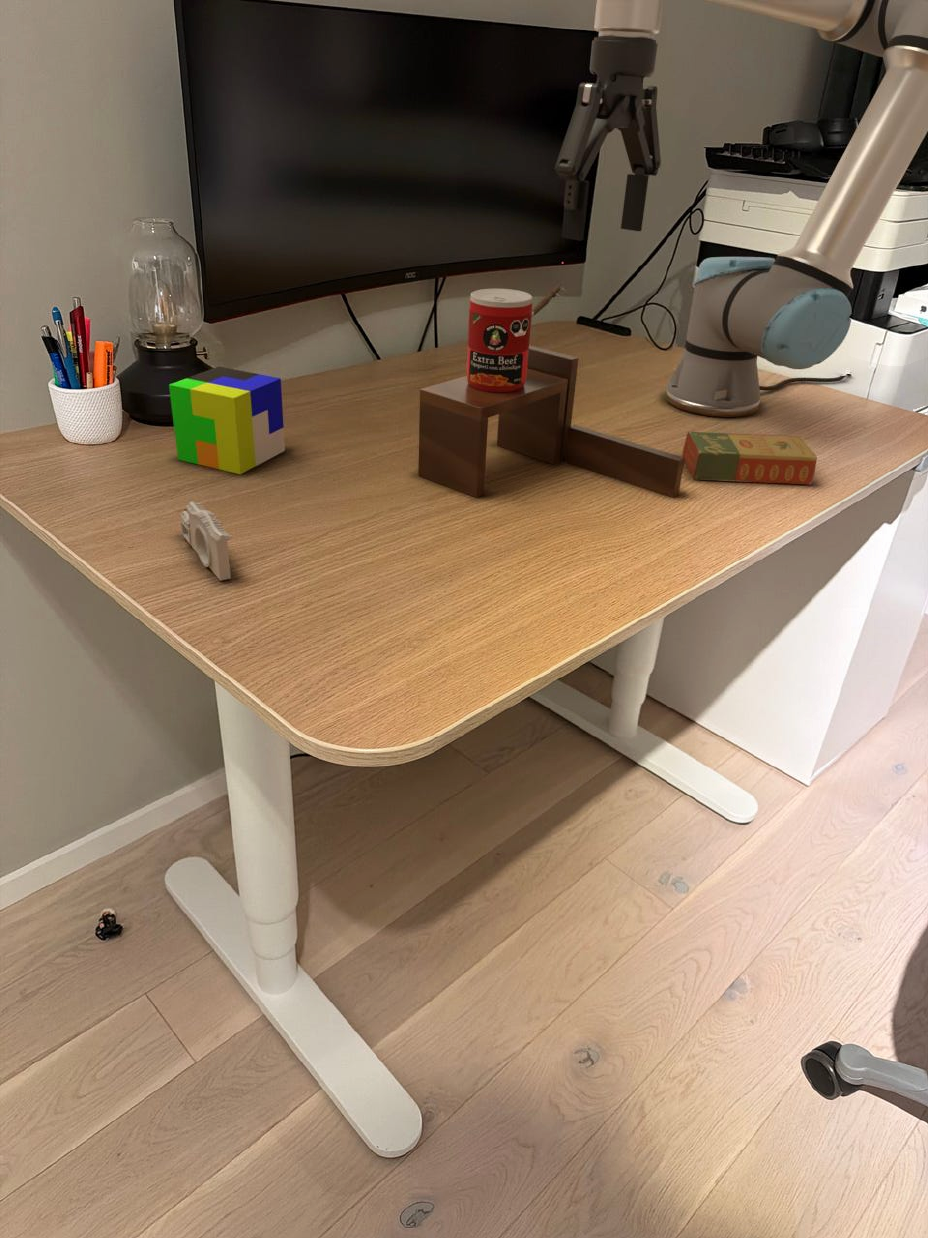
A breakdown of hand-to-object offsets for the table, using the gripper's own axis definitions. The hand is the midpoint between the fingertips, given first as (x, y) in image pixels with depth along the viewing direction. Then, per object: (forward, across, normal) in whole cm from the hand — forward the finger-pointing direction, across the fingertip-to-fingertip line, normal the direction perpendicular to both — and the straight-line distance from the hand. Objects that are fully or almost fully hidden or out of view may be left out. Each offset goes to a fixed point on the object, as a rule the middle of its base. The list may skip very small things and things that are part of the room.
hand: (602, 234), depth 116 cm
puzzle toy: (+29, +37, -31) cm, 56 cm away
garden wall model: (+29, +57, -9) cm, 65 cm away
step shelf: (+29, +14, +5) cm, 32 cm away
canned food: (+17, +15, -4) cm, 23 cm away
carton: (+29, -10, +21) cm, 37 cm away
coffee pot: (+29, -19, -25) cm, 43 cm away
